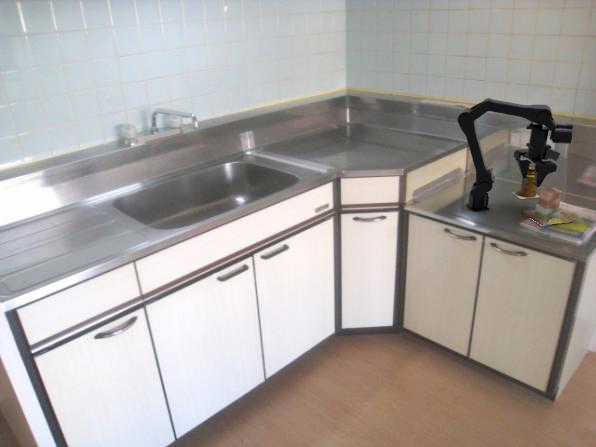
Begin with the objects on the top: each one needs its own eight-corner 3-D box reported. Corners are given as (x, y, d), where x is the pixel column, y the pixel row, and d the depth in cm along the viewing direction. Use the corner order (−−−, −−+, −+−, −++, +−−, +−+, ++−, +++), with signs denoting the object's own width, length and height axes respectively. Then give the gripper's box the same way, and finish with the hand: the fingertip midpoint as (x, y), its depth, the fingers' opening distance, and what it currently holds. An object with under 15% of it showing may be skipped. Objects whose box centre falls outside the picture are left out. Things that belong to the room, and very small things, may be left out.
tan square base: (541, 226, 178) (543, 214, 176) (522, 213, 189) (524, 201, 187) (572, 222, 180) (574, 209, 178) (551, 209, 190) (553, 197, 188)
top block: (546, 209, 180) (548, 193, 177) (538, 203, 184) (540, 188, 182) (559, 207, 180) (561, 191, 178) (550, 202, 185) (553, 187, 182)
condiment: (540, 197, 202) (544, 169, 197) (520, 199, 201) (524, 171, 196) (530, 190, 208) (534, 163, 203) (511, 193, 208) (514, 165, 203)
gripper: (575, 147, 170) (566, 189, 177) (544, 132, 187) (537, 172, 194) (545, 150, 169) (537, 192, 176) (516, 135, 186) (509, 174, 193)
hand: (530, 182), depth 185 cm, fingers open, 9 cm apart
